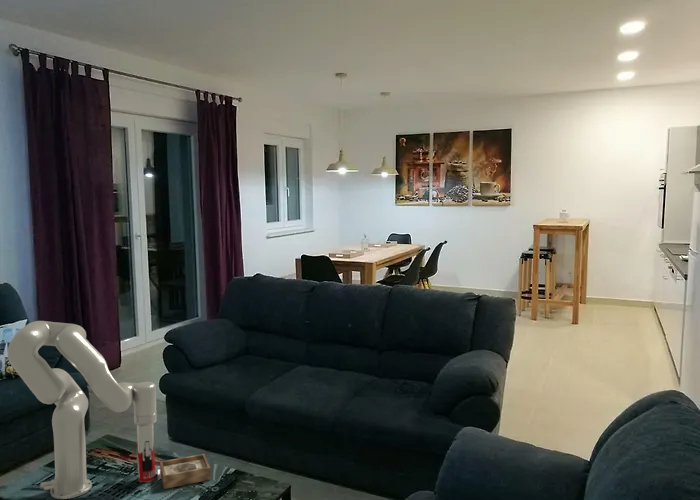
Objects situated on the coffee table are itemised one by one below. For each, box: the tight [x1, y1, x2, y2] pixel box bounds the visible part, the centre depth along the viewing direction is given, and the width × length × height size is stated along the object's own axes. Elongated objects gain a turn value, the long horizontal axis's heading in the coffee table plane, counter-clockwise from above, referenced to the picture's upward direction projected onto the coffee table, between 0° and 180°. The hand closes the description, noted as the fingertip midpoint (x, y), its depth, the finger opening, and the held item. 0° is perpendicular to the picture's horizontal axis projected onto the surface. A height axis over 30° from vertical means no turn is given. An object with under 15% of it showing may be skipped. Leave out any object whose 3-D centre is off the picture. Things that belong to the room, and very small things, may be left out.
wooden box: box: [159, 453, 211, 490], centre depth 196 cm, size 16×12×4 cm
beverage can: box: [135, 440, 157, 483], centre depth 193 cm, size 6×6×15 cm
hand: (146, 466), depth 193 cm, fingers closed on beverage can, 5 cm apart
